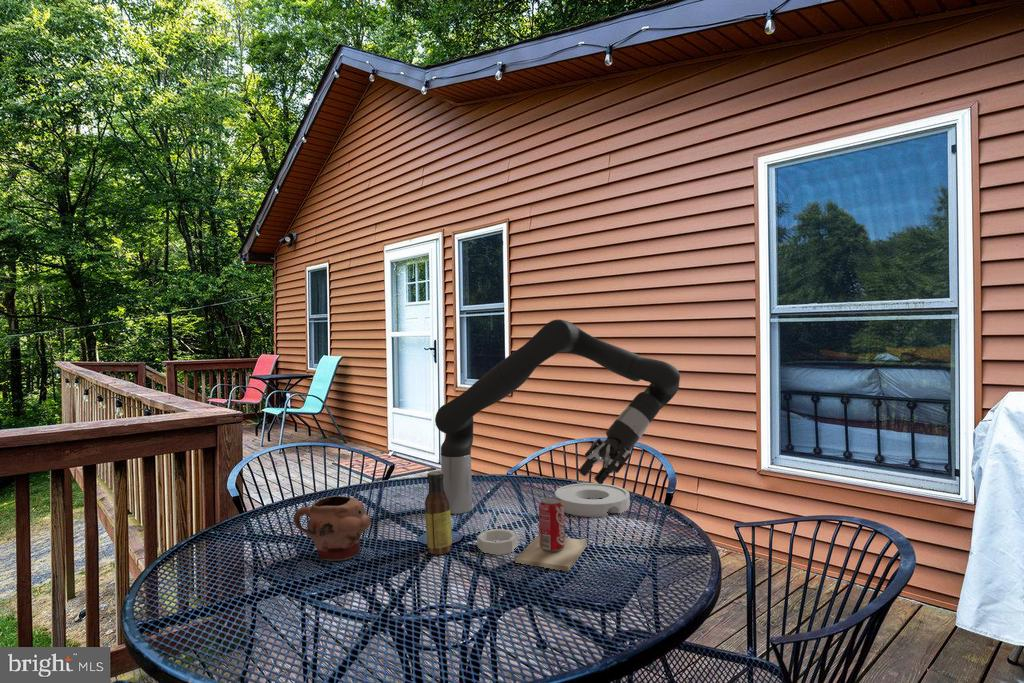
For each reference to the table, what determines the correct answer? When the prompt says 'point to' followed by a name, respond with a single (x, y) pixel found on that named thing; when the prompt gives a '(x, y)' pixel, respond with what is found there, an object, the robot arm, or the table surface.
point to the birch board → (552, 555)
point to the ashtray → (579, 505)
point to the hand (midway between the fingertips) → (589, 477)
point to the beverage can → (551, 524)
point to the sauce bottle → (437, 516)
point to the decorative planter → (335, 526)
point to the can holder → (499, 548)
